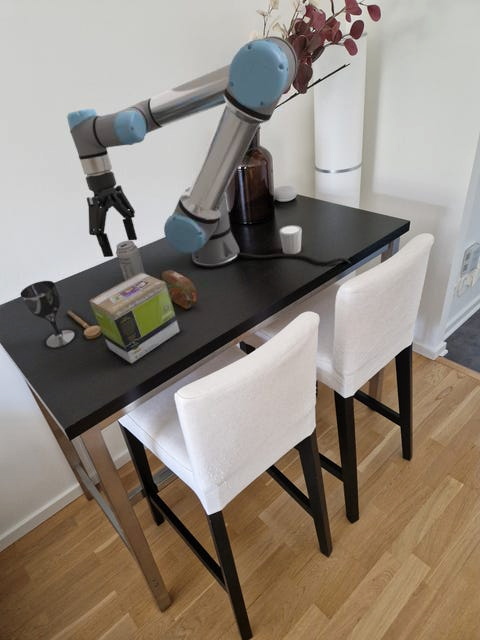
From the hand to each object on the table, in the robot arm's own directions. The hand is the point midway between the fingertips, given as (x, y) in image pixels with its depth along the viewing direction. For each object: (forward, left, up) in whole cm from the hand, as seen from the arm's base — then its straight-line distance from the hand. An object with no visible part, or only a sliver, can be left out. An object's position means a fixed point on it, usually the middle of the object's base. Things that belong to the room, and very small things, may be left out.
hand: (121, 247), depth 126 cm
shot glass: (-48, -17, -12) cm, 52 cm away
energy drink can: (-5, +6, -12) cm, 14 cm away
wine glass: (+8, +29, -11) cm, 32 cm away
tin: (-20, +12, -12) cm, 26 cm away
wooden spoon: (+4, +23, -11) cm, 26 cm away
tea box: (-16, +30, -11) cm, 35 cm away
